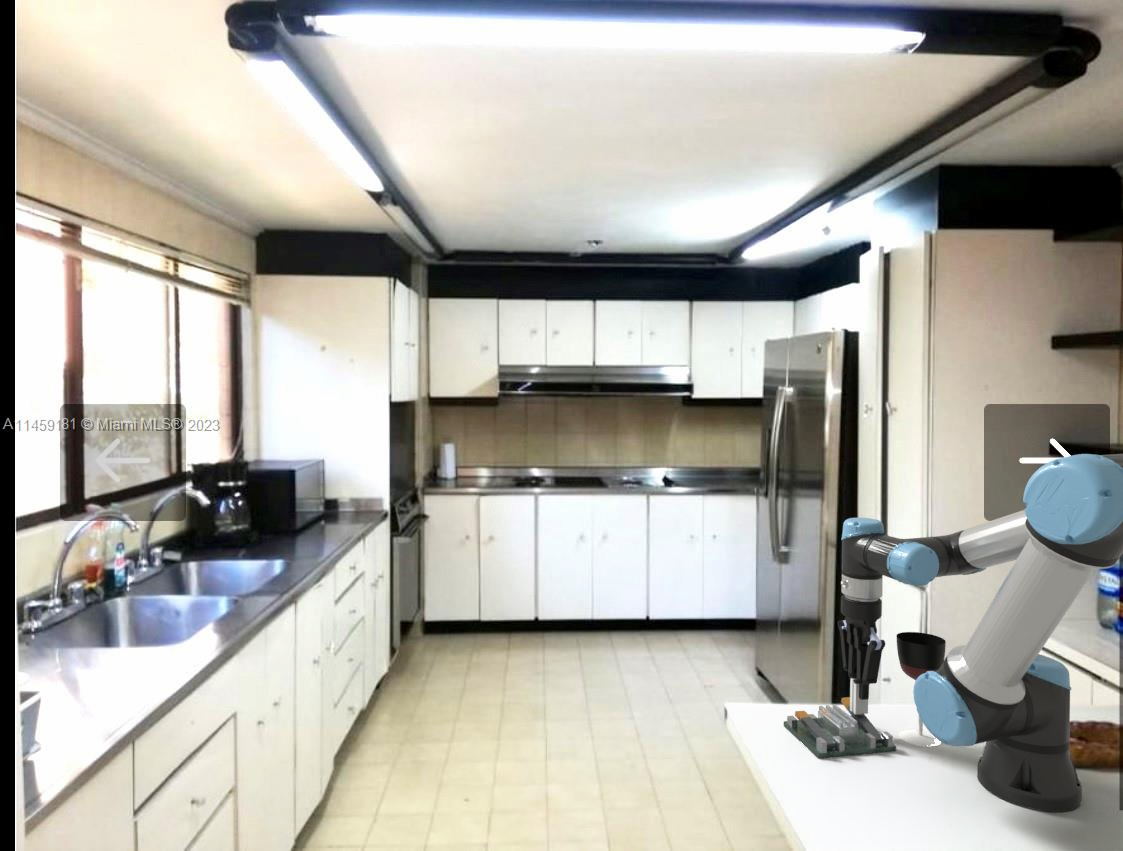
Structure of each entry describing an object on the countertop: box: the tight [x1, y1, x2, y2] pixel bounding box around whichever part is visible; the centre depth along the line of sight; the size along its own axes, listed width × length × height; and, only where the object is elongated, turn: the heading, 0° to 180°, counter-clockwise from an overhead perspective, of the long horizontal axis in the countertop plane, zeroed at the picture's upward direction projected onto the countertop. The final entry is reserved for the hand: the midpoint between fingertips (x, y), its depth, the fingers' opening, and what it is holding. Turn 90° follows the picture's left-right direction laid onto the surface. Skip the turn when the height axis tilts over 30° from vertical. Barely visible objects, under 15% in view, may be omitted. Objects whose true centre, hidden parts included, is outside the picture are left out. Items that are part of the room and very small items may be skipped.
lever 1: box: [794, 710, 835, 749], centre depth 142 cm, size 12×2×1 cm, turn 9°
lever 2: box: [840, 696, 884, 744], centre depth 143 cm, size 12×2×1 cm, turn 10°
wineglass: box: [896, 631, 947, 748], centre depth 142 cm, size 8×9×20 cm
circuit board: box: [783, 704, 897, 760], centre depth 143 cm, size 14×16×5 cm
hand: (858, 711), depth 144 cm, fingers closed
